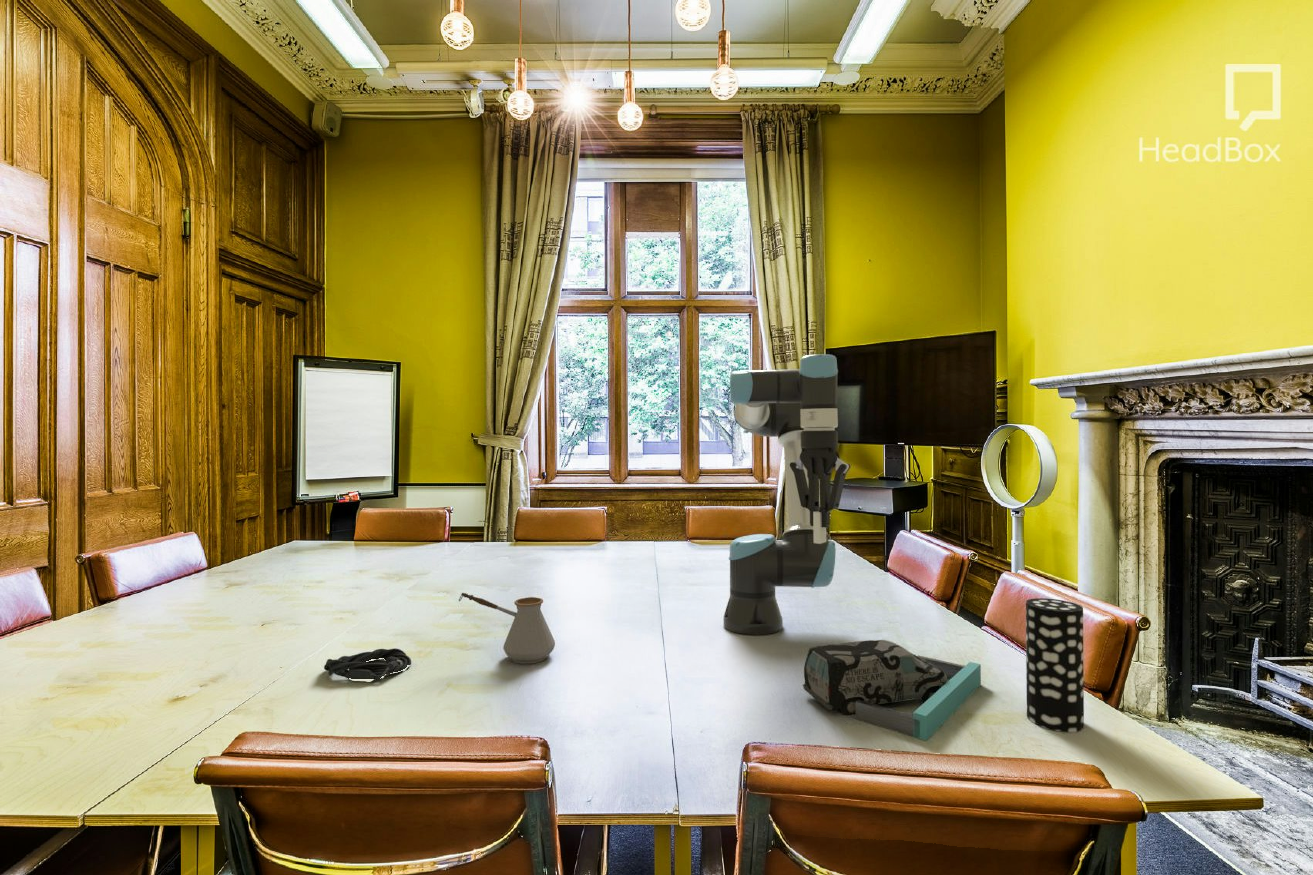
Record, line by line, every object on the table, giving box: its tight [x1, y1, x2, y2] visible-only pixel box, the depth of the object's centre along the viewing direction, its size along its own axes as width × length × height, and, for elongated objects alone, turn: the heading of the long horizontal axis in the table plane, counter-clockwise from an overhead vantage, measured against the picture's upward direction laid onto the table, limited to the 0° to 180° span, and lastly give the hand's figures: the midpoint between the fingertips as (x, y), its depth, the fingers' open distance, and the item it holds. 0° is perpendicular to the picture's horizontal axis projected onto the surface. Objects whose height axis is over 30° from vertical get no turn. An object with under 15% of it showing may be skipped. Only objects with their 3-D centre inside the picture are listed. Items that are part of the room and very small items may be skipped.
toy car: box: [802, 639, 948, 716], centre depth 118 cm, size 11×25×10 cm, turn 104°
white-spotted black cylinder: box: [1025, 597, 1085, 733], centre depth 108 cm, size 8×8×20 cm
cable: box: [323, 647, 412, 680], centre depth 135 cm, size 17×14×4 cm
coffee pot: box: [458, 592, 556, 665], centre depth 142 cm, size 21×12×15 cm, turn 91°
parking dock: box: [855, 654, 982, 741], centre depth 117 cm, size 12×30×4 cm, turn 138°
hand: (819, 542), depth 131 cm, fingers closed
